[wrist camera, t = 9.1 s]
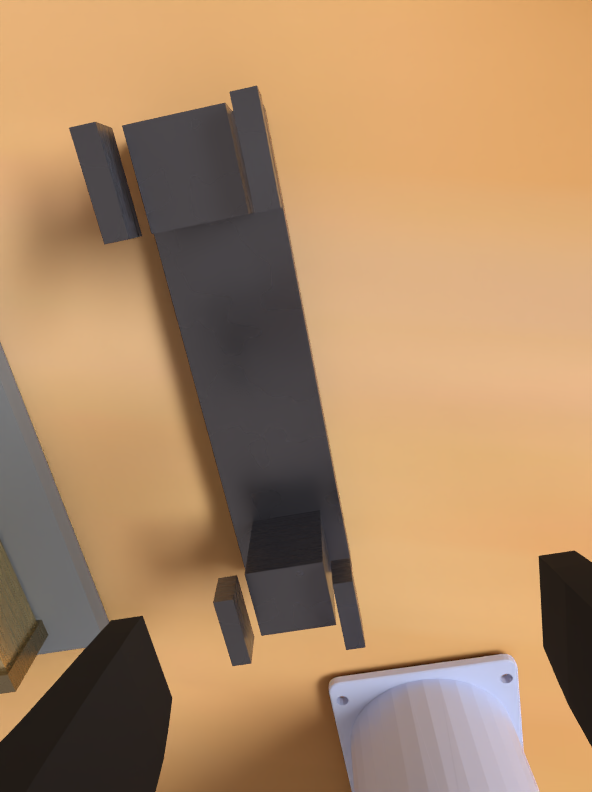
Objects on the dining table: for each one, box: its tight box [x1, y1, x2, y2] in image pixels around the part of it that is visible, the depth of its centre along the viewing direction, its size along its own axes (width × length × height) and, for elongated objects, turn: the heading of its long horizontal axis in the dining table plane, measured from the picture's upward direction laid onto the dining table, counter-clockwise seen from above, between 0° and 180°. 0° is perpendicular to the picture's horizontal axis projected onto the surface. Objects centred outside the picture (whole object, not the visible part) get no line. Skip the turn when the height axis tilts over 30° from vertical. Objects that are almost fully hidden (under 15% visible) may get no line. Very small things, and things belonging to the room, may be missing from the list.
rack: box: [69, 86, 365, 666], centre depth 17 cm, size 16×4×5 cm, turn 11°
